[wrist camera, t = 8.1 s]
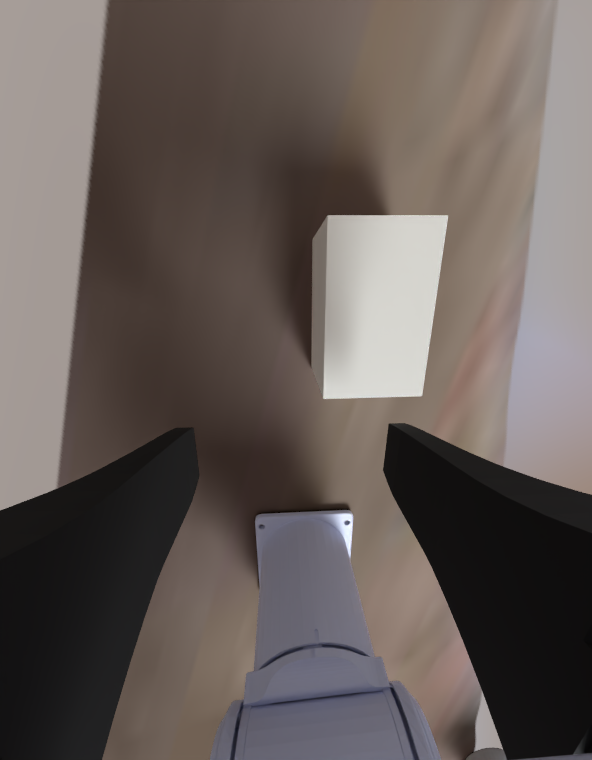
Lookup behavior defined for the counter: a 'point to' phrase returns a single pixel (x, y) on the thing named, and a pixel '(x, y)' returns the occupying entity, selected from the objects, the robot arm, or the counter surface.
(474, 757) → the coffee cup
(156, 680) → the counter surface
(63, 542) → the robot arm
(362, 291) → the cabinet block
